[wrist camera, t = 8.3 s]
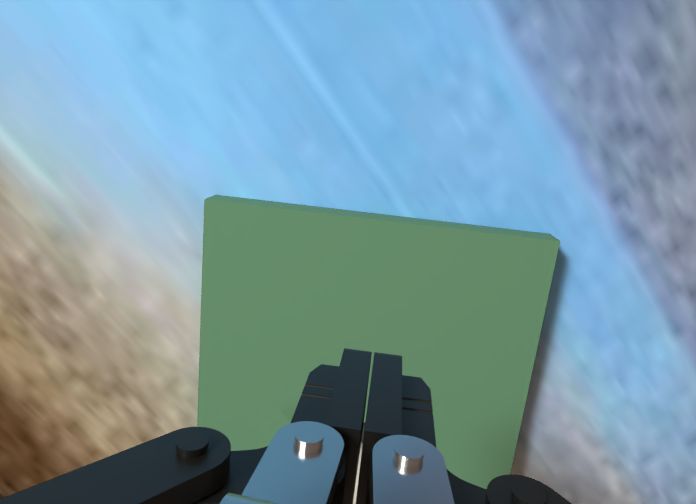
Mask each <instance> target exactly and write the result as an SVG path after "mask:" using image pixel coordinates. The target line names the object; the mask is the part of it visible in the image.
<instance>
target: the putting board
mask: <svg viewBox="0 0 696 504" xmlns="http://www.w3.org/2000/svg"><path fill="white" fill-rule="evenodd" d="M559 245H560V241H559V240H558V239H556V238H555V237H554V236H552V235H551V234H546V233H537V232H528V231H520V230H511V229H503V228H494V227H486V226H477V225H469V224H460V223H451V222H443V221H434V220H426V219H417V218H409V217H400V216H392V215H383V214H374V213H366V212H357V211H349V210H340V209H332V208H323V207H315V206H306V205H297V204H289V203H280V202H272V201H263V200H255V199H246V198H238V197H229V196H220V195H214V196H212V197H209V198H207V199H205V202H204V233H203V264H202V295H201V326H200V358H199V389H198V420H197V427H207V428H212V429H215V430H217V431H220V432H221V433H223V434H224V435H225V436H226V437H227V438H228V439H229V441H230V444H231V451H240V450H253V449H259V448H263V447H266V446H269V444H270V442H271V440H272V439H273V437H274V435H275V434H276V432H277V431H278V430H279V429H280V428H282V427H284V426H286V425H288V424H290V423H291V420H292V418H293V415H294V412H295V410H296V407H297V404H298V402H299V399H300V397H301V395H302V391H303V389H304V386H305V383H306V381H307V378H308V376H309V373H310V372H311V371H312V370H314V369H315V368H317V367H318V366H319V365H321V364H325V365H332V366H340V362H341V358H342V354H343V351H344V348H347V349H354V350H362V351H369V352H372V356H371V365H370V373H369V382H368V390H367V399H366V408H365V416H364V424H363V432H362V439H361V442H362V443H363V437H364V429H365V421H366V413H367V405H368V398H369V390H370V382H371V375H372V367H373V359H374V352H377V353H385V354H392V355H400V356H402V375H406V376H413V377H420V378H422V379H423V381H424V382H425V383H426V384H427V386H428V387H429V388H430V389H431V399H432V403H431V404H432V409H433V419H434V429H435V439H436V448H437V449H438V450H439V451H440V452H441V454H442V456H443V458H444V461H445V465H446V469H447V470H449V471H450V472H451V473H452V474H454V475H455V476H457V477H458V478H460V479H462V480H464V481H466V482H469V483H471V484H474V485H476V486H479V487H481V488H484V489H487V486H488V484H489V482H490V481H491V480H492V479H494V478H496V477H498V476H501V475H510V473H511V468H512V464H513V459H514V454H515V450H516V445H517V440H518V436H519V431H520V426H521V422H522V417H523V412H524V408H525V403H526V398H527V394H528V389H529V384H530V380H531V375H532V370H533V366H534V361H535V356H536V352H537V347H538V342H539V338H540V333H541V328H542V324H543V319H544V314H545V310H546V305H547V300H548V296H549V291H550V286H551V282H552V277H553V272H554V268H555V263H556V259H557V254H558V249H559Z"/></svg>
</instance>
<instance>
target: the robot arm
mask: <svg viewBox="0 0 696 504" xmlns="http://www.w3.org/2000/svg"><path fill="white" fill-rule="evenodd" d="M371 356H372V352H369V351H362V350H354V349H347V348H344V351H343V354H342V358H341V362H340V366H332V365H325V364H321V365H319V366H318V367H317V368H315V369H314V370H312V371H311V372H310V373H309V376H308V378H307V381H306V383H305V386H304V389H303V391H302V395H301V397H300V399H299V402H298V404H297V407H296V410H295V412H294V415H293V418H292V420H291V423H290V424H288V425H286V426H284V427H282V428H280V429H279V430H278V431H277V432H276V434H275V435H274V437H273V439H272V440H271V442H270V444H269V446H266V447H263V448H259V449H253V450H240V451H231V444H230V441H229V439H228V438H227V437H226V436H225V435H224V434H223V433H221V432H220V431H217V430H215V429H212V428H207V427H188V428H183V429H179V430H176V431H173V432H171V433H168V434H165V435H163V436H160V437H158V438H155V439H153V440H150V441H148V442H145V443H142V444H140V445H137V446H135V447H132V448H130V449H127V450H125V451H122V452H119V453H117V454H114V455H112V456H109V457H107V458H104V459H102V460H99V461H97V462H94V463H91V464H89V465H86V466H84V467H81V468H79V469H76V470H74V471H71V472H68V473H66V474H63V475H61V476H58V477H56V478H53V479H51V480H48V481H45V482H43V483H40V484H38V485H35V486H33V487H30V488H28V489H25V490H23V491H20V492H17V493H15V494H12V495H10V496H7V497H5V498H2V499H0V504H353V499H354V491H355V484H356V476H357V469H358V462H359V454H360V447H361V439H362V432H363V424H364V416H365V408H366V399H367V390H368V382H369V373H370V365H371ZM431 403H432V399H431V389H430V388H429V387H428V386H427V384H426V383H425V382H424V381H423V379H422V378H420V377H413V376H406V375H402V356H400V355H392V354H385V353H377V352H374V359H373V367H372V375H371V382H370V390H369V398H368V405H367V413H366V421H365V429H364V437H363V446H362V454H361V463H360V471H359V480H358V488H357V497H356V504H571V503H570V502H569V501H567V500H566V499H565V498H563V497H562V496H561V495H559V494H558V493H557V492H555V491H554V490H553V489H551V488H550V487H548V486H547V485H545V484H543V483H541V482H539V481H537V480H535V479H532V478H529V477H525V476H521V475H501V476H498V477H496V478H494V479H492V480H491V481H490V482H489V484H488V486H487V489H484V488H481V487H479V486H476V485H474V484H471V483H469V482H466V481H464V480H462V479H460V478H458V477H457V476H455V475H454V474H452V473H451V472H450V471H449V470H447V469H446V465H445V461H444V458H443V456H442V454H441V452H440V451H439V450H438V449H437V448H436V439H435V429H434V419H433V409H432V404H431Z"/></svg>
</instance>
